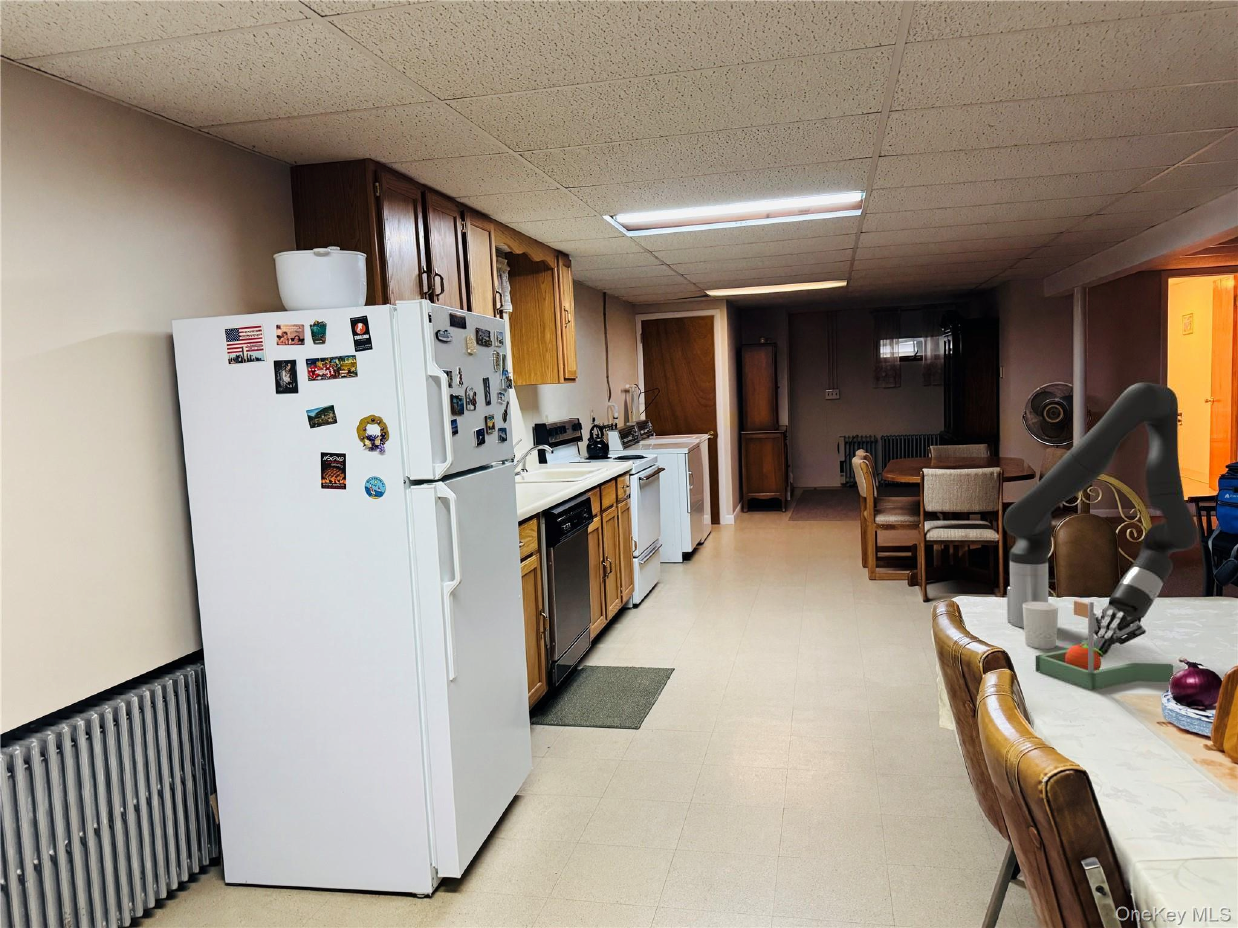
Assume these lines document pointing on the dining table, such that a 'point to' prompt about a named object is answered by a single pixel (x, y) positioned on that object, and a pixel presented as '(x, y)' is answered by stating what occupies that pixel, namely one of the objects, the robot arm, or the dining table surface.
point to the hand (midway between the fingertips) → (1096, 654)
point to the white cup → (1040, 624)
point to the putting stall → (1090, 678)
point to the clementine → (1082, 657)
